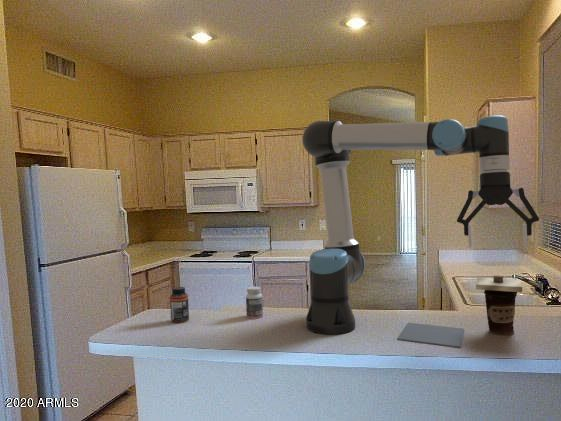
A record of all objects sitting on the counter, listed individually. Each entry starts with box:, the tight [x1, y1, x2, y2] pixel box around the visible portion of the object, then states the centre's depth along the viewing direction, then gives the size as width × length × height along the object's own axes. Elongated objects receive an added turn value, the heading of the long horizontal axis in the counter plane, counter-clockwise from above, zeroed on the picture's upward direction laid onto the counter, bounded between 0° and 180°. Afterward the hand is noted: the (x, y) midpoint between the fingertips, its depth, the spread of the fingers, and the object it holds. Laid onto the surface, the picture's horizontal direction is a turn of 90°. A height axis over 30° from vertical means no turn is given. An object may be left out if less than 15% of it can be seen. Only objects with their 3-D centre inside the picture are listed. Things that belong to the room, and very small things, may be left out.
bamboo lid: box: [475, 274, 523, 293], centre depth 114 cm, size 11×11×3 cm
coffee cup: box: [483, 290, 518, 336], centre depth 114 cm, size 9×8×13 cm
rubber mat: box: [396, 322, 465, 349], centre depth 114 cm, size 16×16×1 cm
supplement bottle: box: [169, 286, 190, 324], centre depth 135 cm, size 6×6×11 cm
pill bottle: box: [245, 286, 264, 319], centre depth 138 cm, size 6×6×10 cm
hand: (497, 247), depth 113 cm, fingers open, 13 cm apart
